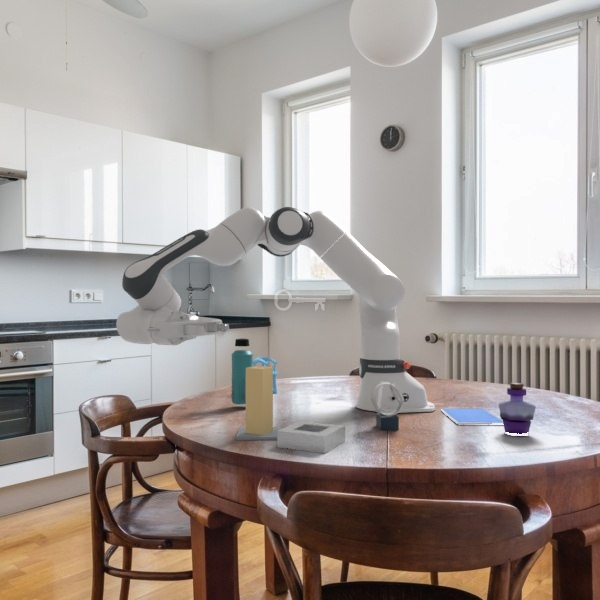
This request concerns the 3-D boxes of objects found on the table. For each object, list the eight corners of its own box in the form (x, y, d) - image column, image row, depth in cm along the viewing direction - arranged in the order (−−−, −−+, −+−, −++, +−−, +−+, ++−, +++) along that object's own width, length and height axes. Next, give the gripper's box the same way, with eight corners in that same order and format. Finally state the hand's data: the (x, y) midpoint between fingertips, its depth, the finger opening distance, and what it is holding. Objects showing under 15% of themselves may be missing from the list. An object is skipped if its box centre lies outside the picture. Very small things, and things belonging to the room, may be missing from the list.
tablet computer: (439, 412, 163) (439, 407, 163) (484, 412, 163) (484, 407, 163) (457, 427, 144) (456, 422, 144) (507, 427, 144) (507, 422, 144)
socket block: (300, 436, 133) (300, 420, 133) (344, 441, 128) (344, 425, 128) (277, 447, 123) (277, 430, 123) (324, 453, 118) (324, 436, 118)
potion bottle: (504, 428, 141) (504, 379, 141) (541, 433, 135) (541, 382, 135) (491, 435, 134) (491, 383, 134) (529, 440, 128) (529, 387, 128)
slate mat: (281, 429, 139) (281, 427, 139) (280, 439, 129) (280, 437, 129) (239, 429, 139) (239, 427, 139) (235, 439, 129) (235, 437, 129)
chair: (268, 395, 188) (268, 359, 188) (247, 393, 192) (248, 357, 192) (281, 392, 194) (281, 357, 194) (261, 390, 199) (261, 355, 199)
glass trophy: (406, 430, 139) (406, 384, 139) (373, 430, 138) (373, 384, 138) (400, 424, 144) (400, 381, 144) (369, 425, 144) (369, 381, 144)
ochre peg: (256, 428, 137) (256, 365, 137) (272, 430, 135) (272, 367, 135) (245, 432, 133) (245, 367, 133) (262, 435, 131) (262, 369, 131)
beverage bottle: (250, 410, 163) (250, 339, 163) (227, 409, 165) (227, 339, 165) (256, 405, 170) (256, 338, 170) (235, 405, 171) (235, 337, 171)
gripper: (142, 316, 136) (189, 317, 130) (195, 314, 155) (238, 314, 148) (142, 343, 136) (189, 345, 130) (195, 337, 155) (239, 338, 149)
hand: (216, 328), depth 139 cm, fingers open, 8 cm apart
